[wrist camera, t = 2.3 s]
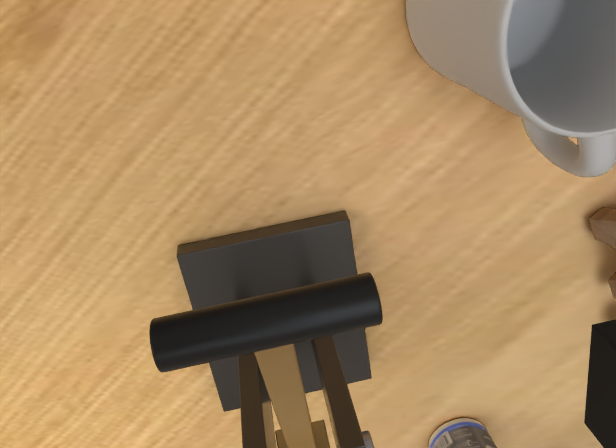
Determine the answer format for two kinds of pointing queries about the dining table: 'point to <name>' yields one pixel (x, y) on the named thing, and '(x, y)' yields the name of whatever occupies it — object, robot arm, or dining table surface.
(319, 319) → the lever
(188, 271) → the bracket
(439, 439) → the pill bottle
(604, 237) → the wooden blocks
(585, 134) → the mug
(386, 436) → the dining table surface
